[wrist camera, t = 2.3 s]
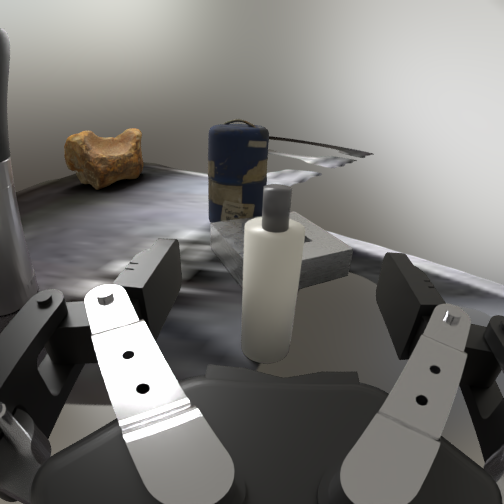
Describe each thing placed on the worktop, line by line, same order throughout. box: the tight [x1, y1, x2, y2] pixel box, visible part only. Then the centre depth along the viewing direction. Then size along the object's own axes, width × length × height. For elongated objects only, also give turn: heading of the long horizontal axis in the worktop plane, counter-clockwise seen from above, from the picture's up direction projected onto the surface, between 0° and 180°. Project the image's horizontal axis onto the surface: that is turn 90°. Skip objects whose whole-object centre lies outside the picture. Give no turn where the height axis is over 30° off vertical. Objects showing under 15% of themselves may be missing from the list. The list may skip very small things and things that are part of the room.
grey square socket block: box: [211, 212, 353, 289], centre depth 43 cm, size 14×14×4 cm
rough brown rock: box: [64, 129, 143, 190], centre depth 76 cm, size 23×17×15 cm
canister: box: [208, 119, 269, 223], centre depth 51 cm, size 10×10×18 cm
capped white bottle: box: [241, 184, 305, 364], centre depth 26 cm, size 4×4×15 cm
